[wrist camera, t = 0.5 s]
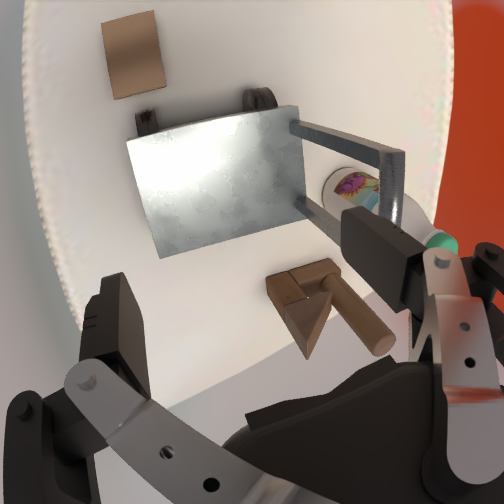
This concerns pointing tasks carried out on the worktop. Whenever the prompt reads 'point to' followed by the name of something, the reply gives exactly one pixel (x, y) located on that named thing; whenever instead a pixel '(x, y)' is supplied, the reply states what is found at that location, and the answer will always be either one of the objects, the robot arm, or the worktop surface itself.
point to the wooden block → (324, 306)
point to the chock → (133, 54)
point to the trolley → (244, 174)
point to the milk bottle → (367, 194)
